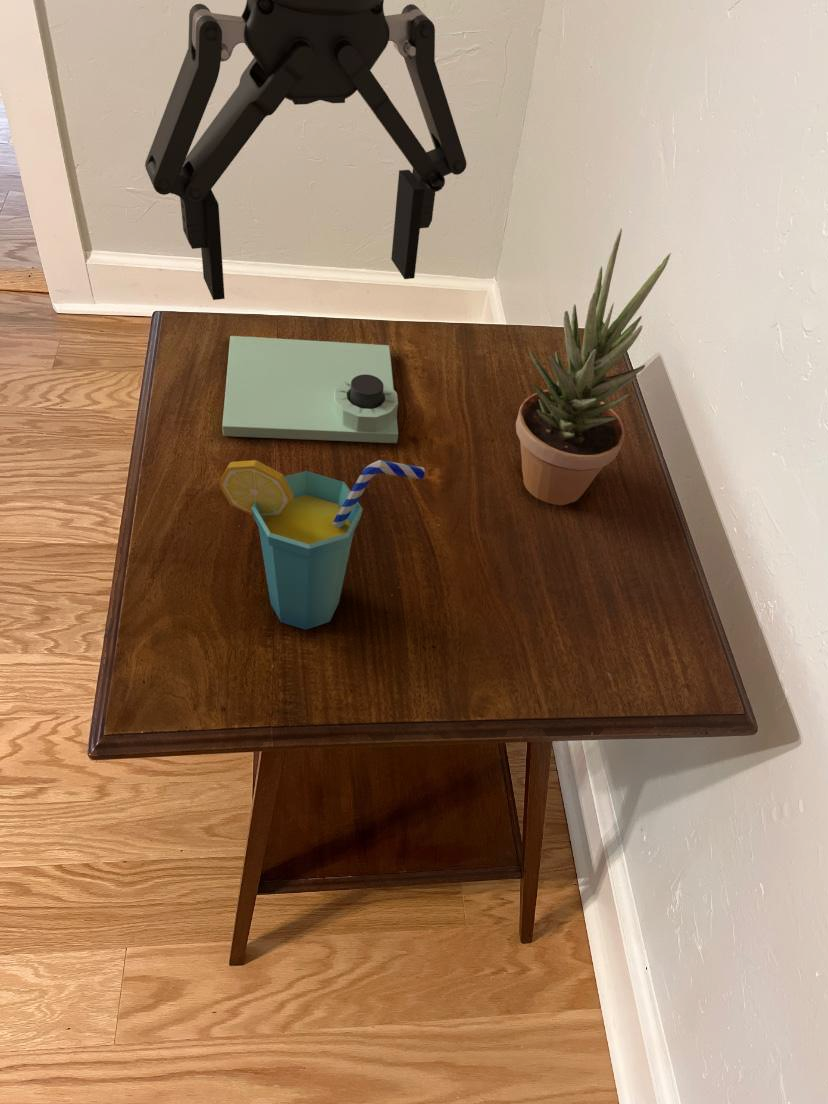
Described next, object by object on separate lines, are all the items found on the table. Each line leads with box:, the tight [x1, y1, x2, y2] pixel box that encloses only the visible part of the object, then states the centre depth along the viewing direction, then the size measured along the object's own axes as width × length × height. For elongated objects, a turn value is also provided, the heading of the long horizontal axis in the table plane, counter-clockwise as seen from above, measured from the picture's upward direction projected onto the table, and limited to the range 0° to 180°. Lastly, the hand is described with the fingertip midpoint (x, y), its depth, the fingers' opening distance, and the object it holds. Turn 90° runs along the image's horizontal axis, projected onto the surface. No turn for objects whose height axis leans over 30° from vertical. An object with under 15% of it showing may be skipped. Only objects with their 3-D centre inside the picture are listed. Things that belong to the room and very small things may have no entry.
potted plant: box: [515, 227, 672, 506], centre depth 76 cm, size 10×10×25 cm
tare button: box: [350, 375, 383, 409], centre depth 84 cm, size 3×3×2 cm
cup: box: [217, 459, 426, 631], centre depth 66 cm, size 14×8×15 cm, turn 97°
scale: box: [221, 335, 399, 444], centre depth 88 cm, size 16×14×3 cm
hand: (311, 278), depth 63 cm, fingers open, 13 cm apart
